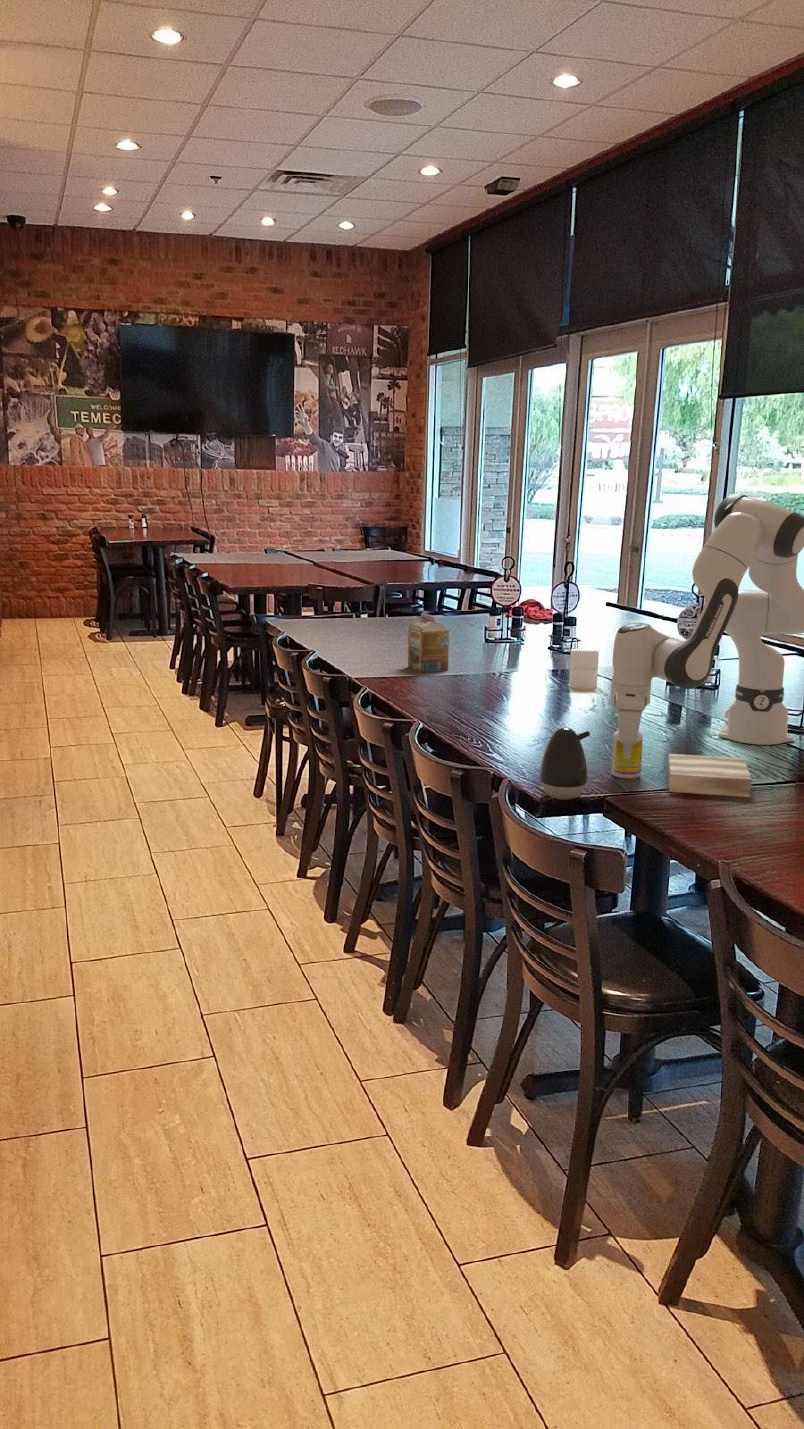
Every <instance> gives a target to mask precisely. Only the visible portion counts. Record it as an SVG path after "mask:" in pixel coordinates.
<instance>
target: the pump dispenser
mask: <svg viewBox="0 0 804 1429" xmlns="http://www.w3.org/2000/svg"><path fill="white" fill-rule="evenodd" d="M590 735H591V733H590V731H588V730H586V731H583V732H581V733H577V732H576V731H575V730H573V729H572V728H570V727H561V728H558V729H557V730H555V731H554V732H553V734H552V735H551V737H550V739H549V741H548V743H547V745H546V747H545V749H544V753H543V757H542V760H541V764H540V765H541V766H540V772H539V780H540V783H541V787H542V789H543V791H544V792H545V794H546V795H548V796H549V797H550V798H553V799H555V798H556V800H559V801H560V800H561V801H562V800H563V801H565V800H566V801H569V800H572V799H576V798H577V797H579V796H580V795H581V794H582V792H584V790H585V787H586V784H587V783H588V775H589V774H588V764H587V759H586V754H585V751H584V747H583V744H582V743H581V741H582V740H584V739H586V738H588V737H589V736H590Z"/></svg>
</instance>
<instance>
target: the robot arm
mask: <svg viewBox="0 0 804 1429" xmlns="http://www.w3.org/2000/svg"><path fill="white" fill-rule="evenodd" d="M714 513H715V514H714V518H713V519H714V520H713V522H714V527H715V529H714V530H713V532H712V533H711V534H710V536H709V538H708V539H707V540H706V541H705V543H704V546H702V549H701V550H700V552H699V554H698V555H697V557H696V559H695V562H694V565H693V568H692V570H691V571H692V578H693V582H694V583H695V587H696V588H697V589H698V590H699V591H700V592H701V594H702V596H703V597H704V605H703V609H702V610H701V613H700V616H699V617H698V620H697V622H696V624H695V626H694V628H693V630H692V633H691V634H690V636H689V637H688V638H687V639H685V640H680V639H678V638H675V637H671V636H669V635H666V634H664V633H662V632H660V631H658V630H656V629H654V628H653V627H652V626H651V624H650V623H646V622H645V623H644V622H632V623H628V624H625V625H622V626H621V627H620V628H618V630H617V631H616V634H615V637H614V641H613V650H612V661H611V662H612V667H613V674H612V678H611V682H610V683H611V684H610V686H611V687H610V702H611V703H612V704H613V706H614V708H615V709H616V713H617V726H618V730H619V740H620V743H622V744H623V758H624V759H631V752H632V746H633V744H636V742H637V737H638V732H640V731H639V730H640V725H641V719H642V714H643V711H645V709H646V707H647V706H648V705H650V703H651V692H652V691H651V690H652V679H653V678H657V679H660V680H663V681H666V682H668V683H671V684H673V685H674V686H676V687H679V688H681V689H683V690H684V689H685V690H692V689H695V688H698V687H700V686H702V684H704V683H705V682H706V680H707V679H708V677H709V676H710V674H711V672H712V668H713V663H714V659H715V654H716V651H717V648H718V646H719V644H720V642H721V639H722V637H723V635H724V633H726V634H727V636H729V638H730V639H731V640H732V641H733V644H734V645H735V648H736V651H737V655H738V680H737V681H738V683H737V684H736V686H735V693H734V694H735V695H734V696H735V701H734V702H733V703H732V704H731V705H730V706H729V707H728V708H727V709H725V710H724V711H725V712H724V718H725V719H726V720H725V723H724V725H723V726H722V728H721V729H720V731H719V732H718V737H719V738H723V739H728V740H732V741H734V742H739V743H743V744H748V745H749V744H750V745H761V746H763V745H764V746H766V745H769V746H771V745H779V744H783V743H788V742H794V741H795V740H794V737H795V736H793V735H792V734H790V733H788V729H789V728H788V727H789V726H788V724H789V709H788V708H787V707H786V706H785V705H784V703H783V702H784V696H785V688H784V686H783V684H784V674H785V673H784V672H785V658H784V656H783V655H782V653H781V652H779V650H777V649H775V648H774V647H772V646H770V645H767V644H766V643H764V642H763V641H762V635H764V634H768V635H769V634H770V635H787V636H792V635H799V634H804V588H803V587H802V586H801V584H800V583H799V581H798V578H797V569H798V567H797V566H798V558H799V554H800V553H801V552H802V550H803V549H804V516H803V515H801V514H800V513H798V512H795V511H794V512H793V511H791V510H789V509H787V508H786V507H783V506H781V505H779V504H776V503H774V502H768V501H766V500H762V499H758V498H754V497H748V496H747V495H746V494H739V493H732V494H730V495H727V496H726V497H724V499H722V501H721V502H720V504H719V505H718V507H717V508H716V511H715V512H714ZM747 571H748V576H749V578H750V581H751V582H752V583H753V584H754V586H755V587H756V588H758V589H759V590H758V589H756V590H754V589H740V584H741V582H742V580H743V578H744V576H745V574H746V573H747Z"/></svg>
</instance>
